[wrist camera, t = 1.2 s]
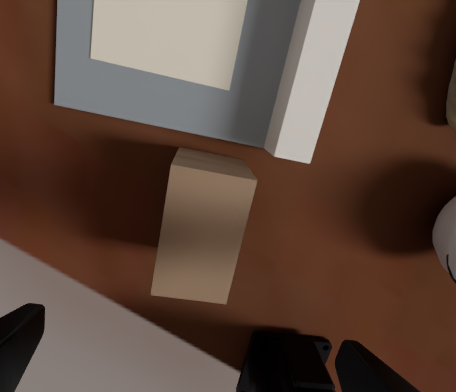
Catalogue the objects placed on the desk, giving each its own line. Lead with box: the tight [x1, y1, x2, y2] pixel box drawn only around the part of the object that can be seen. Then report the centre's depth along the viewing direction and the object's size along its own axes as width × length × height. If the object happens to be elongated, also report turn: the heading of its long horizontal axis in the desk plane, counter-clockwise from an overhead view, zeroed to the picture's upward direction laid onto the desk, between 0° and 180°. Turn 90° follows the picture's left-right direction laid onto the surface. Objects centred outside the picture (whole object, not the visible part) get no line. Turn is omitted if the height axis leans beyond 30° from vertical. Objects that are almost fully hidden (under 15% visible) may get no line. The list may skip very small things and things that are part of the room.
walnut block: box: [151, 147, 257, 304], centre depth 17 cm, size 7×4×5 cm, turn 168°
